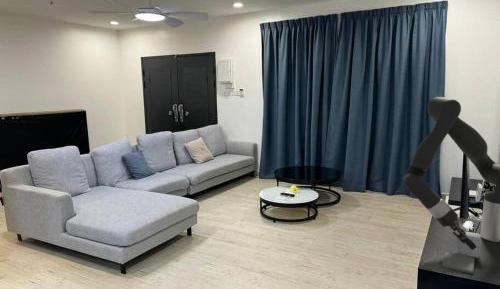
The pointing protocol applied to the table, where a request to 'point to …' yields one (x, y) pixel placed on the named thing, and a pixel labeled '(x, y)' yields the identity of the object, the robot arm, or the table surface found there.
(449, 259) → the rubber mat
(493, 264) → the table surface
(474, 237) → the medicine box
